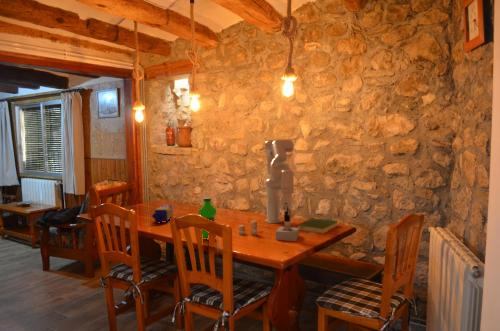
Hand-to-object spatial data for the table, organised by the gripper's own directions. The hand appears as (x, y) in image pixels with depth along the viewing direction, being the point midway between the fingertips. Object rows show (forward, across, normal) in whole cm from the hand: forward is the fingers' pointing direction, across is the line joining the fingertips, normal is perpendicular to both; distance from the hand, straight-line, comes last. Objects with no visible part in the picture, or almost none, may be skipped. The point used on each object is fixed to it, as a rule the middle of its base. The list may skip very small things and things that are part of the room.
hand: (287, 220), depth 225 cm
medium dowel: (+11, -3, -22) cm, 25 cm away
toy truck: (+10, -27, -99) cm, 103 cm away
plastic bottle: (+11, +14, -46) cm, 49 cm away
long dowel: (+5, 0, 0) cm, 5 cm away
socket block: (+11, 0, 0) cm, 11 cm away
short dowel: (+11, -3, -30) cm, 32 cm away
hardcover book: (+11, -29, +15) cm, 35 cm away
